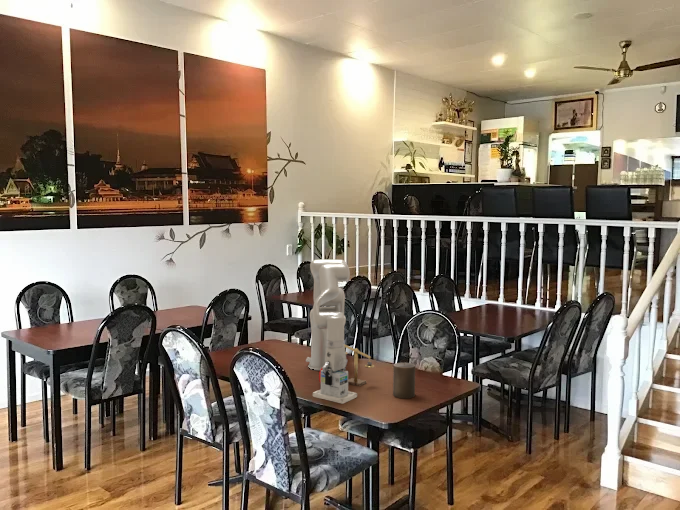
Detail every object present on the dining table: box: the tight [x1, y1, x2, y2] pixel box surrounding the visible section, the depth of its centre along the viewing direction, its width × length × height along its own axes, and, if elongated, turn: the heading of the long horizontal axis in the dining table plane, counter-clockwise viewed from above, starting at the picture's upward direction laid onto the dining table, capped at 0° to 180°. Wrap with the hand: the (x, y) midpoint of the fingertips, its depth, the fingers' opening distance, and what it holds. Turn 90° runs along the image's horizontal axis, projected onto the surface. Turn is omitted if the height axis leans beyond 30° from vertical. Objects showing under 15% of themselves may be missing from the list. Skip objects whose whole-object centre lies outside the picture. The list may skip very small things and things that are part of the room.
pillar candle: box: [392, 361, 416, 399], centre depth 263 cm, size 10×10×15 cm
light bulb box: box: [320, 370, 349, 398], centre depth 259 cm, size 11×7×11 cm, turn 56°
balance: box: [344, 343, 376, 387], centre depth 280 cm, size 20×6×18 cm, turn 55°
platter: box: [312, 388, 358, 404], centre depth 260 cm, size 16×11×2 cm
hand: (335, 382), depth 260 cm, fingers open, 9 cm apart
